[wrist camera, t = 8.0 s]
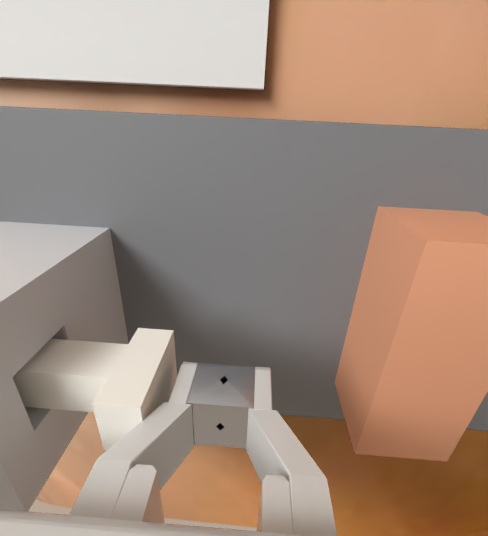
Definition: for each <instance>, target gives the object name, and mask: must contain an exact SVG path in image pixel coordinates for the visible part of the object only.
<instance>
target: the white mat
mask: <svg viewBox="0 0 488 536" xmlns="http://www.w3.org/2000/svg"><path fill="white" fill-rule="evenodd" d="M268 15H269V0H0V78H1V79H23V80H45V81H67V82H89V83H111V84H133V85H155V86H177V87H199V88H222V89H244V90H264V78H265V62H266V47H267V31H268Z"/></svg>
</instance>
